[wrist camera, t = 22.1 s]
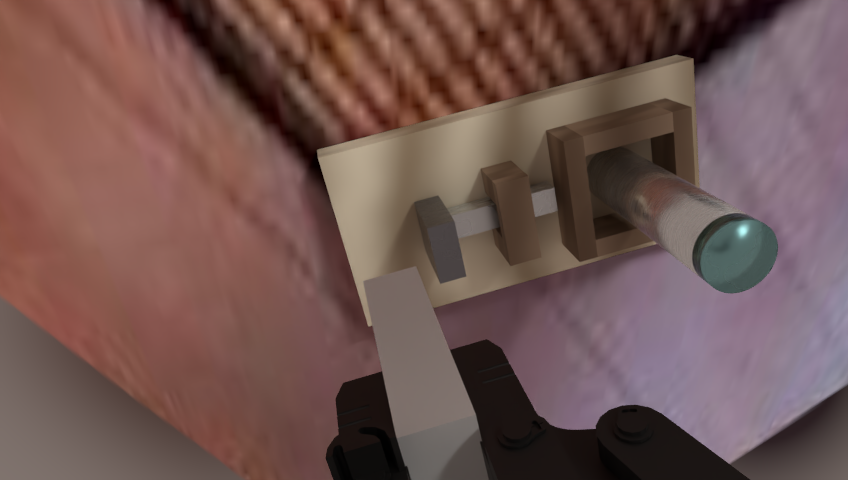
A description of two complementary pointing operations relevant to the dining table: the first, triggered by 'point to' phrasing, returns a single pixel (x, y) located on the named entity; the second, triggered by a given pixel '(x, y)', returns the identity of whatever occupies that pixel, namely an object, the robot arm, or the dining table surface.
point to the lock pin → (466, 226)
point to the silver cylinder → (685, 220)
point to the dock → (456, 179)
